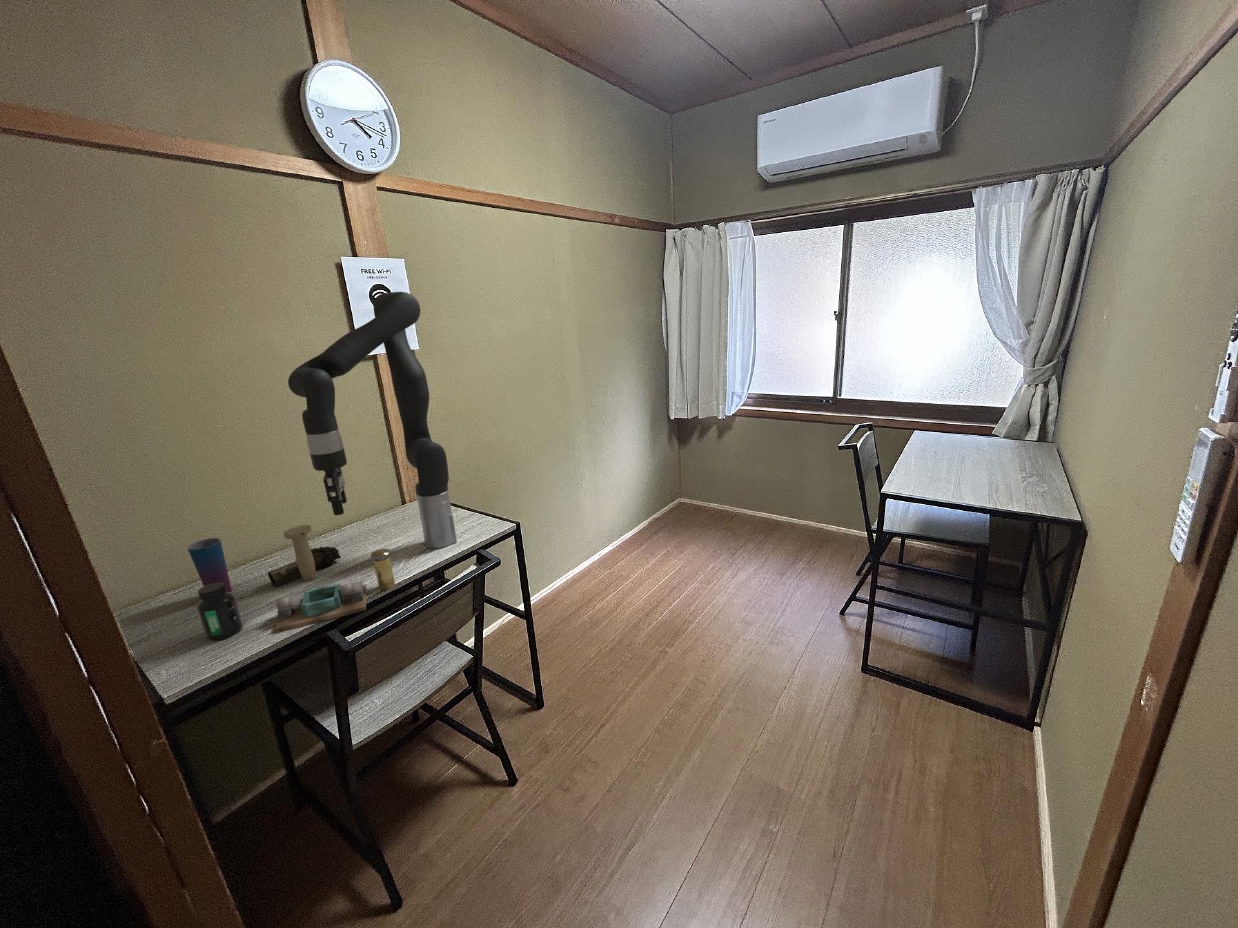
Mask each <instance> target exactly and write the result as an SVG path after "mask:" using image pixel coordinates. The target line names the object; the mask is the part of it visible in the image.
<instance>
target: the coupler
mask: <svg viewBox="0 0 1238 928" xmlns="http://www.w3.org/2000/svg"><path fill="white" fill-rule="evenodd" d="M370 558H371V560H372V561H373V566H374V570H375V576H376V580H377V585H378V589H379V590H380V591H387V590H388V591H389V590H391V589H393V588H394V587H395V586H396V582H395V577H394V572H393V567H392V560H391V549H389V548H380V549H376V550H374V551H372V552H371V553H370Z"/></svg>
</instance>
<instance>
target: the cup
mask: <svg viewBox="0 0 1238 928" xmlns="http://www.w3.org/2000/svg"><path fill="white" fill-rule="evenodd" d="M187 551H188V553H189V555H190V558H191V559H192V562H193V564H194V567H195V569H196V571H197V574H198V575H199V579H200V581H201V583H202V587H204V586H206V585H209V584H212V583H218V582H221V583H224V585H225V588H226V590H227V591H226V592H229V593H231V594H232V585H231V582H230V576H229V571H228V568H227V562H226V557H225V554H224V550H223V545H222V541H221V538H220V537H209V538H204V539H200V540H196V541H194V542H192V543H190V544H189V545H188V546H187Z"/></svg>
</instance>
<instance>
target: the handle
mask: <svg viewBox="0 0 1238 928" xmlns="http://www.w3.org/2000/svg"><path fill="white" fill-rule="evenodd" d="M311 532H312V526H311V525H310V524H301V525H296V526H294V527H291V528H288V529H287V530H285V531H283V536H284V538H285V539H287V540H291V541H292V544H293V549H294V553H295V560H296V561H295V562H297V565H298V568H299V571H300V573H301V578H302V580H304V581H306V582H307V581H310V580H311V581H312V580H314V579H315V577H317V572H316V569H315V563H314V558H313V555H312V552H311V549H312V548H311V546H310V544H309V541H308V537H307V536H308V534H309V533H311Z"/></svg>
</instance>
